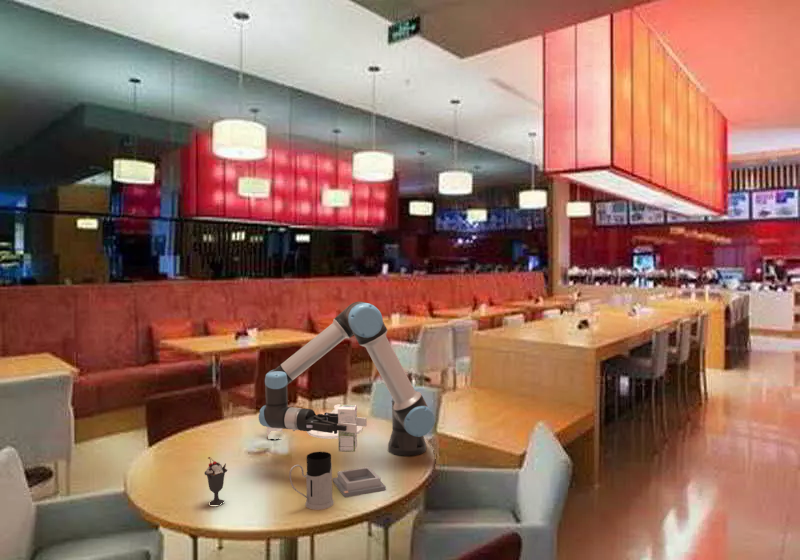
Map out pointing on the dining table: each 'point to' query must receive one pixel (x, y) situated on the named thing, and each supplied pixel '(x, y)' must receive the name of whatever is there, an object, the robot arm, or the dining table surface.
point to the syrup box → (347, 438)
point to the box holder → (358, 482)
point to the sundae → (215, 480)
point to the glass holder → (317, 480)
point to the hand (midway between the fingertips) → (361, 425)
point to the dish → (332, 435)
